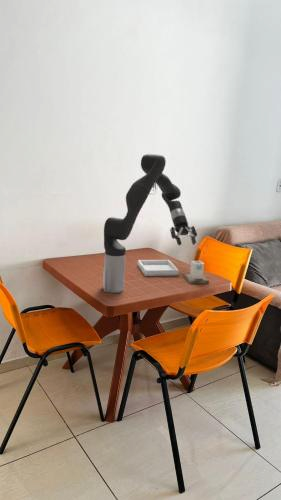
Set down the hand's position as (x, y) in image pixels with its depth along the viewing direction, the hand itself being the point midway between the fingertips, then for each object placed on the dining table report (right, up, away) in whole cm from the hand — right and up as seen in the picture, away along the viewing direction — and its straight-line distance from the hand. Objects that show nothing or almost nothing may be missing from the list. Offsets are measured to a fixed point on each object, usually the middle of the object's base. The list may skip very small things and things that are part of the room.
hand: (187, 244), depth 201 cm
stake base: (+3, -18, -6) cm, 20 cm away
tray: (-16, -14, +5) cm, 22 cm away
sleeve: (+4, -17, -7) cm, 18 cm away
